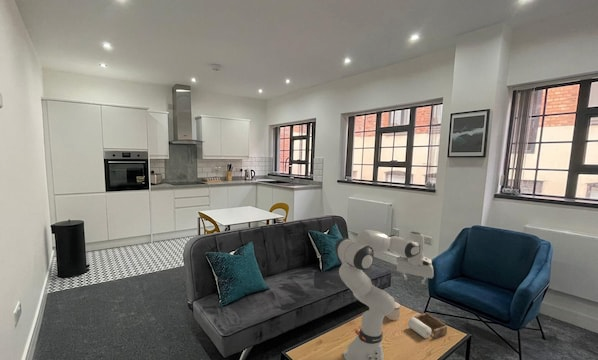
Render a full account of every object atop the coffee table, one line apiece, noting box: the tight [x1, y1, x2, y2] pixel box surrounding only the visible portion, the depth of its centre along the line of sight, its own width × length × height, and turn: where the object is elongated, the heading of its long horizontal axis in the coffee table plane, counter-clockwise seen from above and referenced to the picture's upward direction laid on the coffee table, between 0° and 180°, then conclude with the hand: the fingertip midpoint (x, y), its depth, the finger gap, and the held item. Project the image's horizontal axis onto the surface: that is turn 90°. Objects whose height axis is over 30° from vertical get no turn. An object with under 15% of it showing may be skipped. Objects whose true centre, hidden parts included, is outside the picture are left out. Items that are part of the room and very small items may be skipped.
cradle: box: [413, 312, 448, 339], centre depth 181 cm, size 10×16×6 cm, turn 25°
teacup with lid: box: [385, 301, 401, 321], centre depth 195 cm, size 12×9×12 cm
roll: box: [407, 316, 433, 340], centre depth 177 cm, size 12×7×7 cm, turn 25°
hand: (414, 281), depth 168 cm, fingers open, 8 cm apart
